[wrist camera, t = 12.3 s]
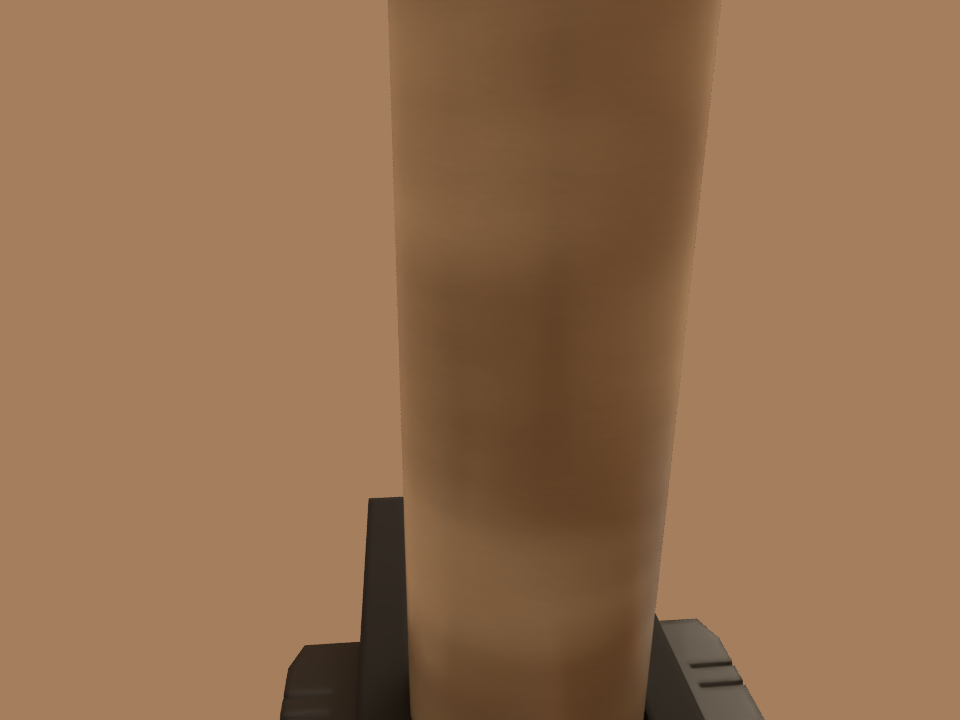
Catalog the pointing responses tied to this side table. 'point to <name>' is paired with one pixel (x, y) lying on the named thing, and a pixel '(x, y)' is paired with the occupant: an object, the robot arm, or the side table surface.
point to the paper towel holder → (541, 338)
